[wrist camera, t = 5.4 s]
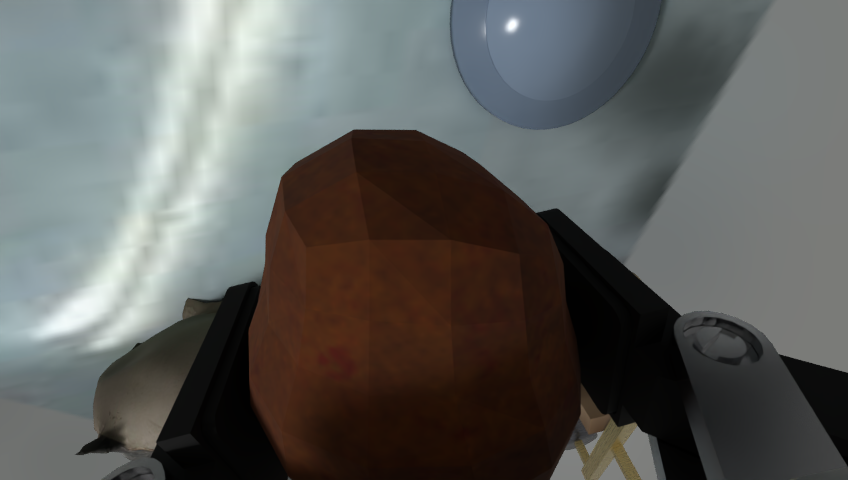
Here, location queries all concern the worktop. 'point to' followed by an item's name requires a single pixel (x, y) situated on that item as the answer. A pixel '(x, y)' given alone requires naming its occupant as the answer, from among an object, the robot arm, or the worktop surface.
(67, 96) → the worktop surface
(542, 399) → the potato
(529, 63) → the plate
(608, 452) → the balance beam
